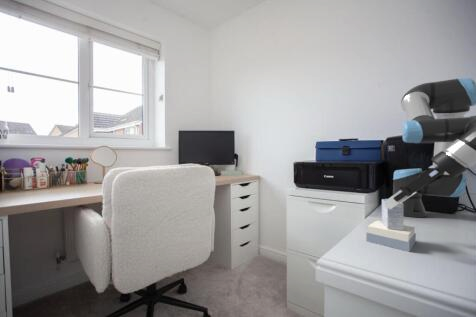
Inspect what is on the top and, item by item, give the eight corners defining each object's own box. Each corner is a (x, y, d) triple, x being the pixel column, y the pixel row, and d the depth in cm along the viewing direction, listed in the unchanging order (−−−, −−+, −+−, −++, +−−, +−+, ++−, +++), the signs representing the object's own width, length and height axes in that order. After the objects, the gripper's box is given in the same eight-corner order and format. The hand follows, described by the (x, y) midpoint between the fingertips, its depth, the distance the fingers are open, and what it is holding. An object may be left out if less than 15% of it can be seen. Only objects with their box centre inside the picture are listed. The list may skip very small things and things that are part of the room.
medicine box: (403, 231, 70) (404, 203, 70) (387, 229, 71) (387, 202, 71) (395, 224, 77) (396, 199, 77) (381, 222, 79) (381, 198, 79)
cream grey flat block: (376, 233, 83) (376, 219, 83) (415, 241, 74) (415, 226, 74) (366, 240, 74) (366, 226, 74) (409, 251, 66) (409, 235, 66)
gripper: (468, 169, 52) (392, 219, 63) (469, 167, 70) (409, 207, 80) (438, 148, 56) (371, 198, 67) (446, 151, 73) (391, 190, 84)
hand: (391, 203), depth 74 cm, fingers open, 13 cm apart
